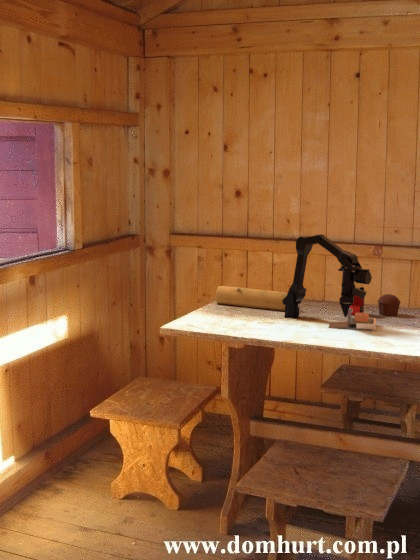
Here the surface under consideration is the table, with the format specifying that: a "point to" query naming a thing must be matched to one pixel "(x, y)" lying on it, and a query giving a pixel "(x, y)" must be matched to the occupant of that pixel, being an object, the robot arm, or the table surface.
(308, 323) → the table surface
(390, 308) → the muffin
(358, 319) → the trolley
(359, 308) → the canned food
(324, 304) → the table surface
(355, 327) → the dock
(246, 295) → the log
